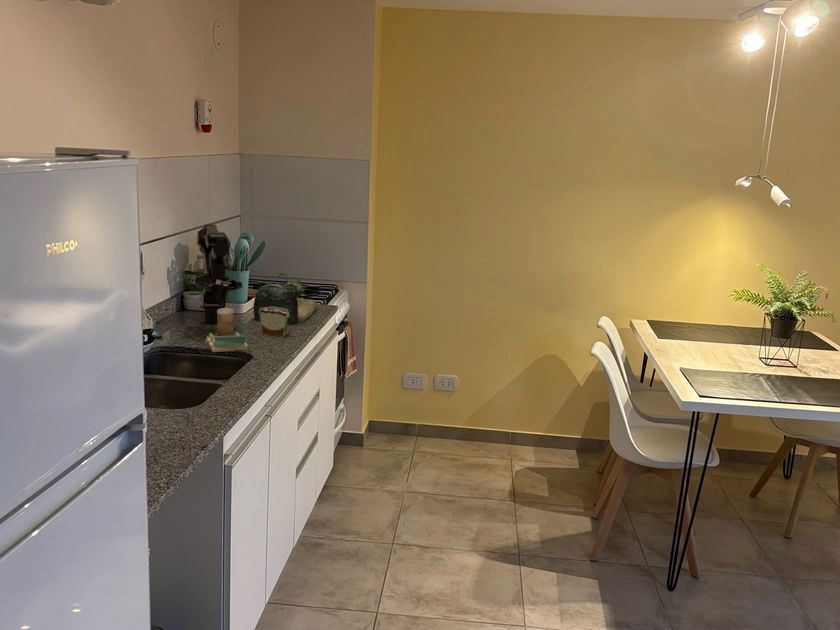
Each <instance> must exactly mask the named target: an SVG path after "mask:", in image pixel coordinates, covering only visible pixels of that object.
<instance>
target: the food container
mask: <svg viewBox="0 0 840 630" xmlns="http://www.w3.org/2000/svg"><path fill="white" fill-rule="evenodd" d="M259 313H260V320H261V321H260V330H261V331H260V332H261V335H262V334H264V335H263V336H269V335H274V336H273V337H276V336H282V337H284V336H285V337H286V335H287V334H286V333H287V326H288V324H287V318H288V317H289V312H288V310H287V309H285V308H280V307H274V306H270V307H264V308H260V310H259ZM259 313H258V314H259ZM282 337H281V338H282ZM285 337H284V338H285Z"/></svg>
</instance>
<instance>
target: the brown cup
mask: <svg viewBox="0 0 840 630" xmlns="http://www.w3.org/2000/svg"><path fill="white" fill-rule="evenodd" d="M234 313H235V309H233V308H228V307H227V308H226V307H225V308H221V309H218V310H217V324H216V325H217V330H216V331H217V332H215V336H231V335H235V331H234V328H235V327H234V326H235V325H234V319H235V318H234Z"/></svg>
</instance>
